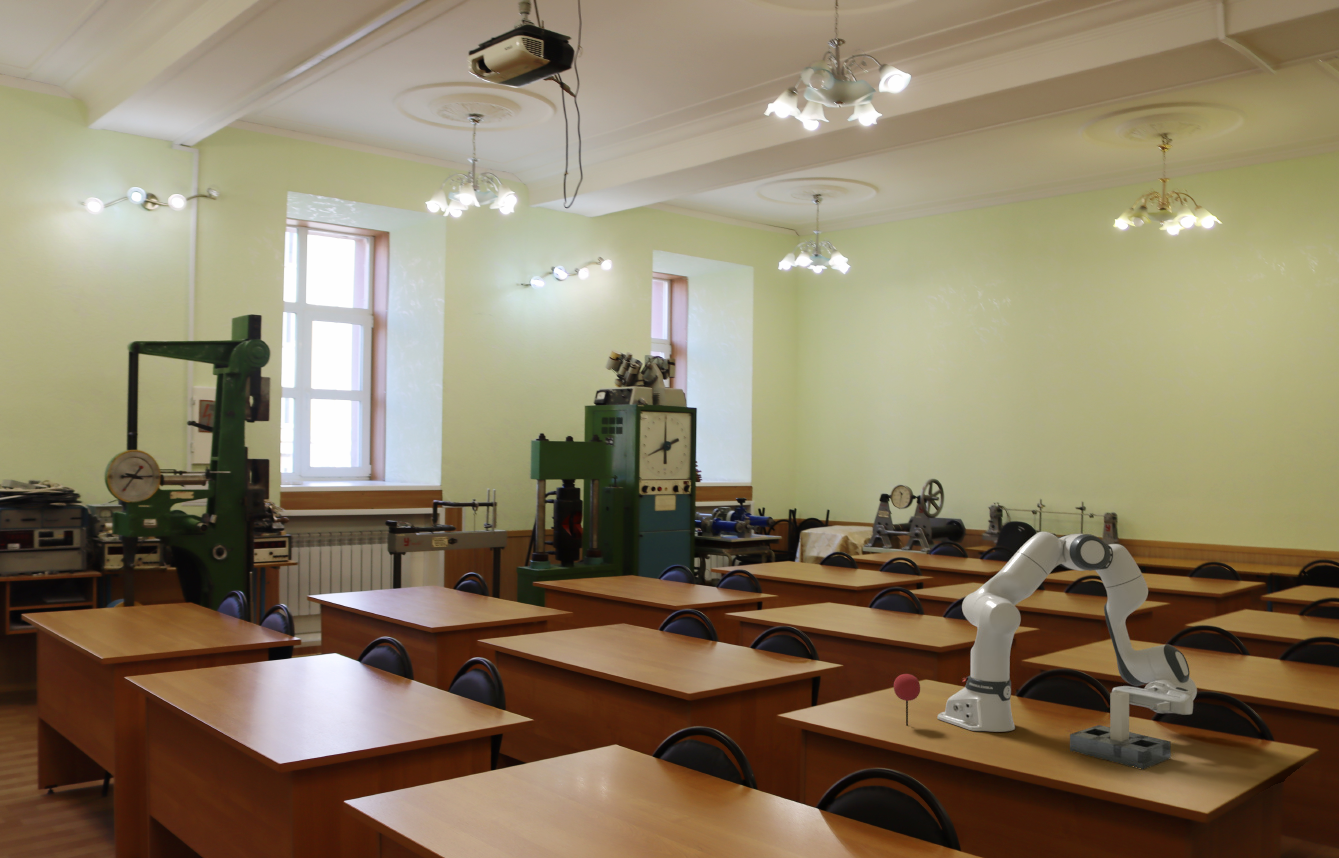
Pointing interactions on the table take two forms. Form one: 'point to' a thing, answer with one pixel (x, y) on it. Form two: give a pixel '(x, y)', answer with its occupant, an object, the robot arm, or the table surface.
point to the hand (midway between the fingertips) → (1138, 703)
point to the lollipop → (907, 689)
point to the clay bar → (1119, 716)
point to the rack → (1121, 747)
